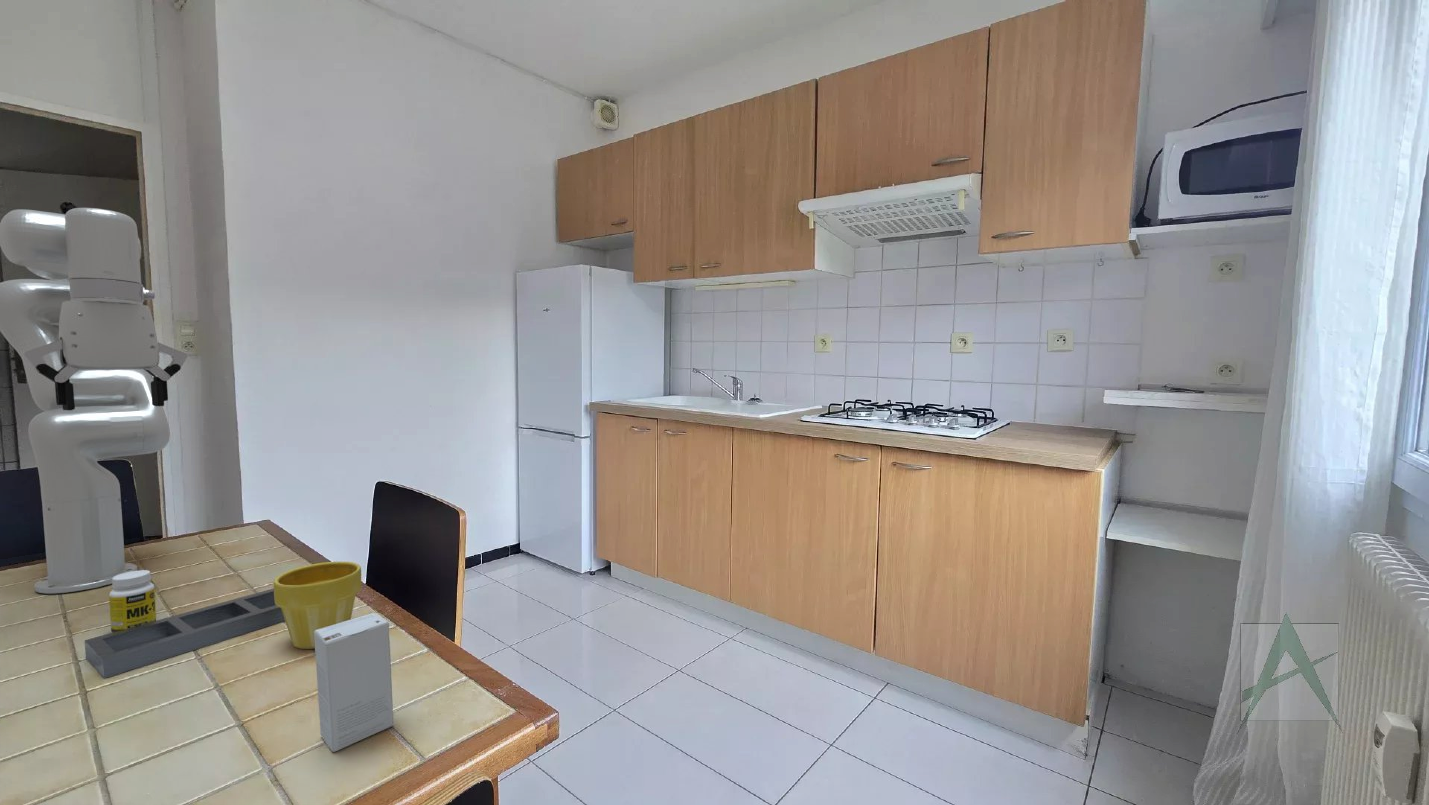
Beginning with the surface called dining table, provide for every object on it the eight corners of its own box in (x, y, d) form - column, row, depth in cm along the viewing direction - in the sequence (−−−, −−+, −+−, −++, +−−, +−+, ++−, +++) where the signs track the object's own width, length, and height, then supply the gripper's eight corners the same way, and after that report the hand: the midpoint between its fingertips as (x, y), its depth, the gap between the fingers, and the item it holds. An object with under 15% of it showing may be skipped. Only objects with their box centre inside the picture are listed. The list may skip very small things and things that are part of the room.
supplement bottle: (127, 638, 83) (123, 582, 83) (102, 635, 84) (98, 579, 84) (165, 624, 88) (161, 570, 87) (141, 621, 89) (137, 567, 88)
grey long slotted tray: (85, 657, 78) (84, 640, 78) (298, 595, 99) (297, 581, 99) (104, 678, 73) (103, 660, 73) (324, 608, 94) (323, 594, 93)
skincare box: (379, 712, 66) (376, 609, 65) (395, 728, 63) (392, 620, 62) (316, 738, 61) (312, 628, 61) (330, 757, 59) (326, 641, 58)
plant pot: (330, 618, 90) (327, 556, 90) (379, 628, 87) (377, 564, 86) (258, 648, 80) (255, 580, 80) (311, 662, 77) (308, 590, 76)
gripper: (174, 302, 96) (181, 404, 97) (13, 290, 82) (23, 411, 83) (190, 298, 92) (197, 405, 93) (23, 285, 78) (33, 412, 79)
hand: (115, 407), depth 88 cm, fingers open, 9 cm apart
